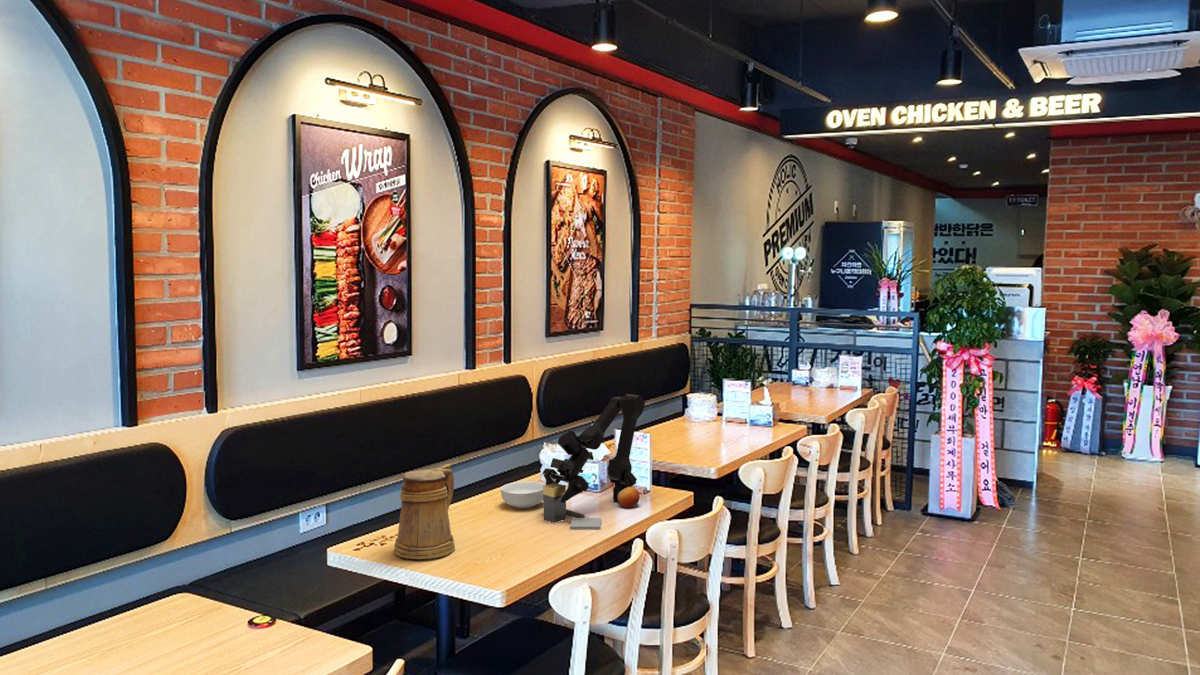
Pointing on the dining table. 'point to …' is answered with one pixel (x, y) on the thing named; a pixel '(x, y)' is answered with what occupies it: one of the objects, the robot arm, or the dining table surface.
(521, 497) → the cereal bowl
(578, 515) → the dark notched bar
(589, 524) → the coaster
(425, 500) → the tankard
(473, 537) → the dining table surface
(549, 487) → the block
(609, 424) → the robot arm
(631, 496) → the fruit
